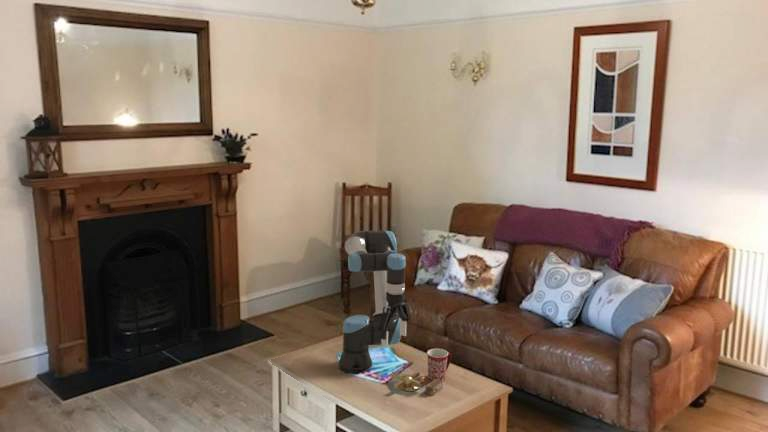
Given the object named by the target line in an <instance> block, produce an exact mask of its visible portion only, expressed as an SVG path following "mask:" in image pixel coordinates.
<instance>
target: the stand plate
mask: <svg viewBox="0 0 768 432" xmlns="http://www.w3.org/2000/svg"><path fill="white" fill-rule="evenodd" d="M414 380H417V381H419V382H420V379H417V378H415V379H414ZM399 381H401V380H398V379H396V378H394V379H392V380H391V381H390V382H389V383H388V384H387V388H388V390H389V391H390V392H392V393H393V394H396V395H399V396H404V397H405V396H408V397H409V396H411V397H412V396H418V395H420V394H423V393H424V392H426V384H425V383H424V387H423V388H420V387H419V390H418V391H415V392H406V391H403V390H402V389H401V388H398V389H396V388H394V384H396V383H397V382H399Z"/></svg>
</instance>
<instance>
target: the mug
mask: <svg viewBox="0 0 768 432" xmlns="http://www.w3.org/2000/svg"><path fill="white" fill-rule="evenodd" d="M426 354H427V374H428V375H427V378H428V380H429V381H430V382H432V381H434V380H435V379H438V380H441V381H442V383H443V382H444V381H445V380H446V375H447V370H448V368H449V367H450V364H451V360H452V354H451V353H450V352H448V351H447V350H446V349H443V348H432V349H428V350H427V352H426Z"/></svg>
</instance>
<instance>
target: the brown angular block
mask: <svg viewBox="0 0 768 432" xmlns="http://www.w3.org/2000/svg"><path fill="white" fill-rule="evenodd" d="M425 386H426V389H425V395H428V396H431V397H432V396H433V395H435V394H436V393H438V392H440V391H441V390H443V382H442V381H441V380H438V379H435V380H434V381H430V382H429V383H428V384H425Z"/></svg>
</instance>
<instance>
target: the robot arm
mask: <svg viewBox="0 0 768 432" xmlns="http://www.w3.org/2000/svg"><path fill="white" fill-rule="evenodd" d="M396 238H397V237H396V235H395V233H394V232H393V231H391V230H361V231H356V232H354V233H352V234H350V235H349V236H348V237H347V238H346V239H345V240H344V241H345V242H344V250H345V252H346V253H347V255H348V256H347V257H348V258H347V265H348V266H347V267H348V270H349V271H350V272H357V273H359V272H373V281H374V284H373V285H374V302H375V312H374V313H373V314H372V318H371V319H370V317H369V316H368V315H366V314H355V315H350V316H349V317H347V318H345V319H344V321H343V324H342V325H343V326H342V338H343V339H342V352H341V355H340V358H339V360H338V368H339V369H340V370H341V371H342V372H345V373H349V374H361V373H363V372H364V371H367V370H369V369H370V368H372V367H373V360H372V358H371V355H370V352H369V348H370V347H369V346H382V347H384V348H388V346H391V345H398V344H400V341H401V339H402V336H403V337H407V325H408V324H407V322H409V321H410V318H411V313H410V311H409V308H408V305H407V303H408V302H407V299H406V298H405V294H406V293H405V289H406V285H405V284H406V266H407V263H406V260H407V259H406V255H404V254H402V253H398V244H397V239H396Z"/></svg>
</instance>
